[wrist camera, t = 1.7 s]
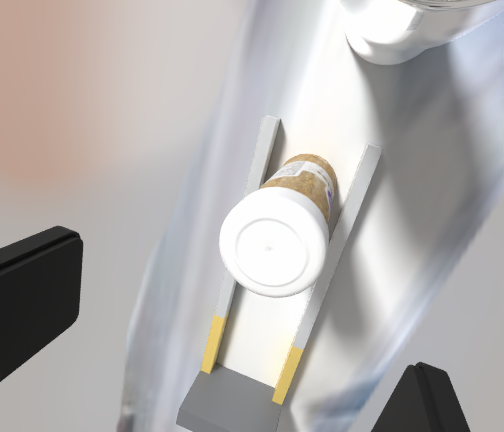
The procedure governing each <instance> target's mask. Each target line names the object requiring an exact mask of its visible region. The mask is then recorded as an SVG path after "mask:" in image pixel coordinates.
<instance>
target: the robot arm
mask: <svg viewBox="0 0 504 432" xmlns="http://www.w3.org/2000/svg"><path fill="white" fill-rule="evenodd" d="M82 257H83V241H82V240H81V239H80V235H79V233H77V232H75V231H72V230H69V229H67V228H65V227H62V226H55V227H53V228H50V229H47V230H45V231H42V232H40V233H38V234H35V235H33V236H30V237H28V238H25V239H23V240H20V241H18V242H16V243H13V244H10V245H8V246H6V247H3V248H0V382H1V381H2V380H3V379H5V378H6V377H7V376H8V375H10V374H11V373H12V372H13V371H15V370H16V369H17V368H18V367H20V366H21V365H22V364H24V363H25V362H26V361H27V360H29V359H30V358H31V357H32V356H33V355H35V354H36V353H37V352H39V351H40V350H41V349H42V348H44V347H45V346H46V345H47V344H49V343H50V342H51V341H53V340H54V339H55V338H56V337H58V336H59V335H60V334H61V333H63V332H64V331H65V330H66V329H68V328H69V327H70V326H71V325H72V324H73V323H74V322H75V321H76V319H77V317H78V315H79V303H80V288H81V273H82ZM371 432H470V429H469V427H468V424H467V421H466V419H465V417H464V414H463V411H462V409H461V406H460V404H459V401H458V399H457V396H456V394H455V391H454V389H453V386H452V384H451V381H450V378H449V376H448V374H447V372H445V371H444V370H441V369H438V368H436V367H433V366H430V365H428V364H425V363H422V362H419V363H417V364H416V365H415V366H413V365H409V366H408V367H407V368H406V370H405V371H404V373H403V375H402V377H401V379H400V381H399V382H398V384H397V386H396V388H395V389H394V391H393V393H392V395H391V397H390V398H389V400H388V402H387V404H386V406H385V407H384V409H383V411H382V413H381V415H380V416H379V418H378V420H377V422H376V424H375V425H374V427H373V429H372V431H371Z"/></svg>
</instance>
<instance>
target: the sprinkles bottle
mask: <svg viewBox="0 0 504 432" xmlns="http://www.w3.org/2000/svg"><path fill="white" fill-rule="evenodd" d="M336 186H337V183H336V175H335V172H334V170H333V168H332V167H331V166H330V164H329V163H328V162H327V161H326V160H324V159H323V158H321V157H319V156H316V155H313V154H300V155H297V156H295V157H292V158H291V159H289V160H288V161H287V162H286V163H285V164H284V165H283V167H282V168H280V169H279V170H278V171H277V172H276V173H275V174H274V175H273V176H272V177H271V178H270V179H269V180H268V181H266V182H265V183H264V184H263V185H262V186H261V187H260V188H259V190H257V191H255V192H253V193H251V194H249V195H248V196H246V197H245V198H244V199H243V200H242V201H241V202H240V203H239V204H238V205H237V206H236V207H235V208H234V209H233V210H232V211H231V212H230V213H229V214H228V216H227V217H226V219H225V221H224V223H223V225H222V228H221V232H220V239H219V244H220V253H221V256H222V259H223V262H224V264H225V266H226V268H227V270H228V271H229V273H230V274H231V275H232V276H233V278H234V279H235V280H236V281H237V282H238V283H239V284H241V285H242V286H243V287H245V288H246V289H248V290H250V291H252V292H254V293H256V294H259V295H263V296H267V297H274V298H280V297H288V296H292V295H295V294H298V293H300V292H302V291H304V290H306V289H307V288H308V287H310V286H311V285H312V284H313V283H314V282H315V281H316V280H317V278H318V277H319V276H320V274H321V272H322V270H323V268H324V265H325V261H326V258H327V253H328V246H329V232H328V226H327V224H328V222H329V218H330V212H331V206H332V202H333V197H334V193H335V190H336Z"/></svg>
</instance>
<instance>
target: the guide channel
mask: <svg viewBox="0 0 504 432" xmlns="http://www.w3.org/2000/svg"><path fill="white" fill-rule="evenodd" d="M279 123H280V118H277V117H273V116H270V115H265V116H263V119H262V123H261V128H260V132H259V136H258V140H257V144H256V148H255V152H254V156H253V160H252V164H251V168H250V172H249V176H248V180H247V184H246V188H245V192H244V196H243V199H244V198H245V197H246V196H248V195H249V194H251V193H253V192H255V191H257V190H259V188H260V187H261V186H262V185H263V183H264V179H265V175H266V172H267V168H268V164H269V160H270V157H271V153H272V149H273V145H274V142H275V138H276V134H277V130H278V127H279ZM382 151H383V149H382V147H380V146H377V145H373V144H369V143H367V144H366V147H365V149H364V152H363V155H362V157H361V160H360V163H359V165H358V168H357V171H356V173H355V176H354V179H353V181H352V184H351V187H350V189H349V192H348V195H347V197H346V200H345V203H344V205H343V208H342V211H341V213H340V216H339V219H338V221H337V224H336V227H335V229H334V232H333V235H332V238H331V240H330V243H329V246H328V253H327V258H326V261H325V265H324V268H323V270H322V272H321V274H320V276H319V277H318V278H317V280H316V281H315V283H314V286H313V288H312V291H311V294H310V296H309V299H308V302H307V304H306V307H305V310H304V312H303V315H302V318H301V320H300V323H299V326H298V328H297V331H296V334H295V336H294V339H293V342H292V344H291V347H290V350H289V352H288V355H287V358H286V360H285V363H284V366H283V368H282V371H281V374H280V376H279V379H278V382H277V384H276V387H275V388H273V387H270V386H268V385H266V384H263V383H261V382H258V381H256V380H254V379H251V378H249V377H247V376H244V375H242V374H240V373H237V372H235V371H233V370H230V369H228V368H225V367H223V366H221V365H218V364H216V363H215V362H216V359H217V355H218V351H219V347H220V344H221V340H222V336H223V332H224V329H225V325H226V321H227V318H228V314H229V310H230V306H231V303H232V299H233V295H234V291H235V288H236V284H237V281H236V280H235V279H234V278H233V276H232V275H231V274H230V273H229V271H228V270H227V268H226V269H225V273H224V277H223V281H222V285H221V289H220V293H219V297H218V301H217V306H216V310H215V314H214V318H213V322H212V326H211V330H210V334H209V338H208V342H207V346H206V350H205V354H204V358H203V362H202V366H201V370H200V372H199V374H198V376H197V377H196V379H195V381H194V383H193V385H192V386H191V388H190V390H189V392H188V394H187V395H186V397H185V399H184V401H183V403H182V405H181V406H180V408H179V412H178V417H177V421H176V424H178V425H180V426H182V427H184V428H186V429H189V430H191V431H193V432H276V429H277V425H278V420H279V416H280V411H281V406H282V403H283V401H284V398H285V396H286V393H287V391H288V388H289V386H290V383H291V381H292V378H293V376H294V373H295V370H296V368H297V365H298V363H299V360H300V358H301V355H302V353H303V350H304V348H305V345H306V343H307V340H308V338H309V335H310V333H311V330H312V328H313V325H314V322H315V320H316V317H317V315H318V312H319V310H320V307H321V305H322V302H323V300H324V297H325V295H326V292H327V290H328V287H329V285H330V282H331V280H332V277H333V274H334V272H335V269H336V267H337V264H338V262H339V259H340V257H341V254H342V252H343V249H344V247H345V244H346V242H347V239H348V237H349V234H350V232H351V229H352V226H353V224H354V221H355V219H356V216H357V214H358V211H359V209H360V206H361V204H362V201H363V199H364V196H365V194H366V191H367V189H368V186H369V184H370V181H371V178H372V176H373V173H374V171H375V168H376V166H377V163H378V161H379V158H380V156H381V153H382Z"/></svg>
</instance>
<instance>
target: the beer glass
mask: <svg viewBox="0 0 504 432" xmlns="http://www.w3.org/2000/svg"><path fill="white" fill-rule="evenodd" d="M337 1H338V3H339V6H340V8H341V10H342V12H343V13H344V29H345V34H346V37H347V40H348V42H349V44H350V46H351V47H352V49H353V50H354V51H355V52H356V53H357V54H358V55H359V56H360V57H361V58H363V59H364V60H366V61H368V62H371V63H374V64H378V65H395V64H400V63H403V62H406V61H408V60H410V59H412V58H414V57H416V56H418V55H419V54H420V53H422V52H423V51H424V50H425V49H428V48H433V47H436V46H440V45H443V44H446V43H448V42H451V41H453V40H455V39H457V38H459V37H461V36H463V35H465V34H467V33H469V32H471V31H473V30H475V29H477V28H479V27H481V26H482V25H484V24H485V23H487V22H488V21H490V20H491V19H493V18H494V17H496V16H497V15H499V14H500V13H501V12H503V11H504V0H337Z"/></svg>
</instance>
